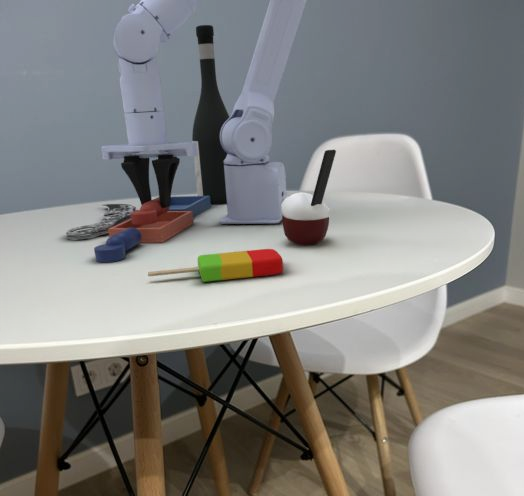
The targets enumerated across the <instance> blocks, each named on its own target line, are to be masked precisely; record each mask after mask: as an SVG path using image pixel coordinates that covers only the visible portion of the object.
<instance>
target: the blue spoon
mask: <svg viewBox="0 0 524 496" xmlns="http://www.w3.org/2000/svg"><path fill="white" fill-rule="evenodd" d="M141 238H142V236H141V233H140V231H139V230H138V229H136V228H133V227H130V228H127V229H125V230H123V231H121V232H119V233H117V234H115V235H113V236H111V237H109V236H108V238H107V239H106V241H105V243H104V244H99V245H97V246H94V248H93V250H94V251H93V252H94V257H95V261H96V262H98V263H113V262H119V261H122V260H124V259H126V257H127V256H126V252H128V251H129V250H131V249H133V248H135V247H137V246H138V245H140V244H141V243H140V242H141Z"/></svg>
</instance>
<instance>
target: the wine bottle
mask: <svg viewBox="0 0 524 496" xmlns="http://www.w3.org/2000/svg"><path fill="white" fill-rule="evenodd" d="M214 33H215V32H214V26H213V25H211V24H201V25H200V24H199V25H197V26H196V27H195V34H196V35H195V36H196V38H197V46H198V56H199V57H198V58H199V68H200V79H201V81H200V82H201V87H200V95H199V101H198V105H197V109H196V112H195V116H194V120H193V125H192V136H191V138H192V139H191V142H197V152H198V155H197V156H194V157H193V162H194V172H195V181H196V183H195V184H196V192H197V196H210V203H211V205H223V204H227V197H226V184H225V172H224V160H225V158H226V156H227V154H228V153H227V152H226V151H225V150H224V149H223V147H222V145H221V142H220V131H221V128H222V126H223V124H224V123H225V122H226V121H227V120H228V119H229V117H230V115H229V113H228V110H227V108H226V106H225V104H224V101H223V98H222V96H221V93H220V90H219V86H218V82H217V81H218V80H217V73H216V59H215V58H216V57H215V45H214V36H215V34H214Z"/></svg>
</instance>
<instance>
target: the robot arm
mask: <svg viewBox="0 0 524 496" xmlns="http://www.w3.org/2000/svg"><path fill="white" fill-rule="evenodd" d="M306 4H307V0H269V3H268V6H267V9H266V13H265V16H264V18H263V22H262V26H261V29H260V31H259V35H258V38H257V42H256V45H255V47H254V52H253V55H252V58H251V61H250V64H249V68H248V71H247V74H246V77H245V80H244V85H243V87H242V90H241V93H240V95H239V97H238V98H237V100H236V102H235V104H234V106H233V109H232V113H231V114H230V115H229V119H228V120H227V121H226V122H225V123H224V124H223V126H222V128H221V131H220V142H221V145H222V147H223V149H224V150H225V151H226V152H227V153H228V154H227V156H226V158H225V160H224V172H225V184H226V197H227V203H226V208H227V216H226V217H223V218H222V219H221V220H220V221H219V223H220V224H221V225H234V224H235V225H240V224H241V225H242V224H243V225H245V224H251V225H252V224H253V225H255V224H257V225H258V224H265V225H266V224H280V222H282V215H283V214H282V211H281V204H282V202H283V201H284V200H285V198H286V197H287V178H286V177H287V175H286V169H285V164H284V163H283V162H279V161H270V160H271V159H270V156H269V155H268V154H269V152H270V150H271V148H272V145H273V132H272V131H273V129H272V127H273V122H274V119H275V99H276V96H277V93H278V90H279V87H280V84H281V80H282V77H283V76H284V72H285V68H286V65H287V62H288V60H289V57H290V54H291V50H292V47H293V44H294V40H295V37H296V34H297V32H298V28H299V26H300V23H301V19H302V16H303V12H304V11H305V10H304V9H305V6H306ZM197 10H198V0H140V1H139V2H138V3H137V4H136V5H135V4H134V3H131V5H130V6H129V7H128V9H127V11H128V12H129V13H127V14H124V15H123V16H121V19H120V21H119V22H118V23H117V25H116V26H115V30H114V35H113V43H112V48H113V51H114V53H115V56H117V58H118V64H117V66H118V72H119V74H120V77H119V87H120V92H121V101H122V108H123V115H124V121H125V128H126V136H127V143H128V144H127V143H125V144H111V145H110V144H109V145H103V146H101V147H100V149H101V150H100V151H101V156H102V160H103V161H109V160H123V162H121V163H120V166H121V169H122V170H123V171H124V173H125V174H126V176H127V177H128V179H129V181H130V182H131V184H132V186H133V187H134V190H135V192H136V194H137V197H138V199H139V201H140V204H141V206H142V205H143V204H144V203H146V202H148V201H151V200H153V199H152V192H151V185H150V184H151V183H150V158H151V159H152V158H153V160H151V165H152V168H153V171H154V174H155V178H156V182H157V189H158V197H159V199H160V205H161V207H162V208H167V207H169V206H170V200H171V197H172V191H173V185H174V181H175V176H176V173H177V170H178V168H179V165H180V162H181V159H180V158H181V157H187V158H194V156H197V155H198V152H197V142H192V141H168V135H167V126H166V117H165V116H166V115H165V108H164V107H165V106H164V100H163V99H164V98H163V90H162V83H161V77H160V75H159V70H158V60H157V56H156V55H157V54H158V52H159V48H160V43H166V42H168V41H169V39H170V38H171V37H173V35H175V33H176V32H178V30H179V29H180V28H181V27H182V25H183V24H185V22H186V21H187V20H188V19H189V18H190V17H192V15H193V14H194V13H195V12H196V11H197ZM143 152H144V153H143ZM146 152H159V153H146ZM179 157H180V158H179ZM154 158H156V159H154Z"/></svg>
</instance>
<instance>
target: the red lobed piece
mask: <svg viewBox="0 0 524 496" xmlns="http://www.w3.org/2000/svg"><path fill="white" fill-rule="evenodd" d="M169 208H170V206H169V207H167V208H162V207H161V205H160V199H159V196H157V197H155V198H153V199H152V200H151V201H148V202H146V203H144V204H143V205H141V206H140V208H139V209H135V210H136V211H133V212H131V213H130V214H131V221H132V224H134V225H147V224H152V223H156V222H157V221H158V219H157V217H158V216H160V215H162V214H164V213H166V212H167V211H168V210H169Z"/></svg>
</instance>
